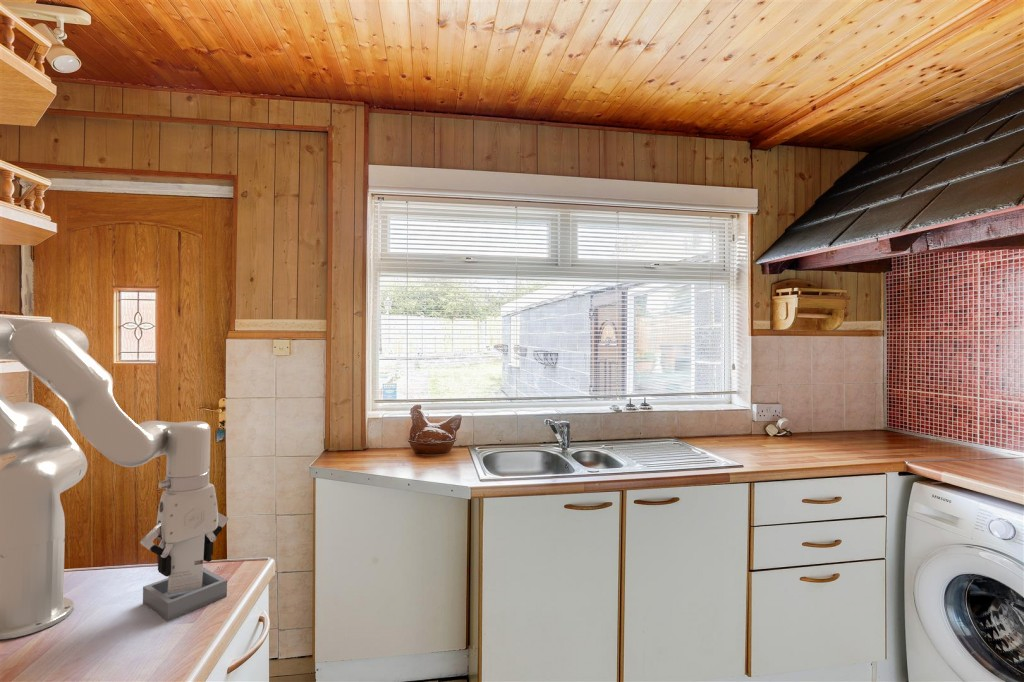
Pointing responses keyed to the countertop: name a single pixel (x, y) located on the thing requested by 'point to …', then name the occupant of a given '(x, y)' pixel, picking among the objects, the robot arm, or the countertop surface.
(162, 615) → the tray
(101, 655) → the countertop surface
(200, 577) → the skincare box
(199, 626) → the countertop surface
